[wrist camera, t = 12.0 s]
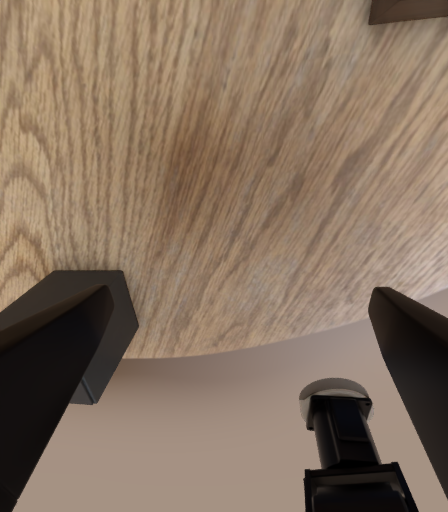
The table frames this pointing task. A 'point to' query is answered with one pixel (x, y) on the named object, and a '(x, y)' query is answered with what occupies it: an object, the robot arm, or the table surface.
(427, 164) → the table surface
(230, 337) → the table surface
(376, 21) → the holder
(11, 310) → the block
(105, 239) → the table surface
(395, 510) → the robot arm
